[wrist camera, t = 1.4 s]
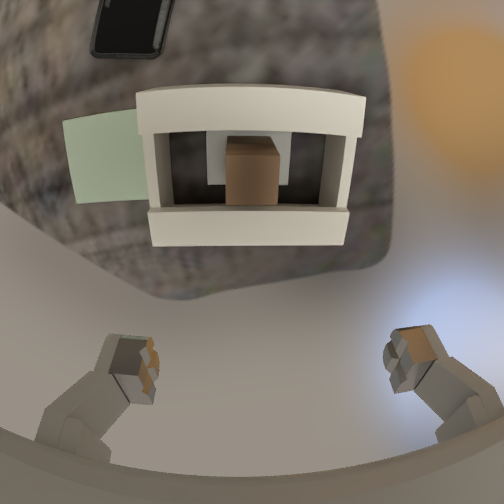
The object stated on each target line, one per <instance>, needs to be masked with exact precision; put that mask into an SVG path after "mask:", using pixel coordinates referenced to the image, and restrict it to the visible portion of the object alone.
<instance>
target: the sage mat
mask: <svg viewBox="0 0 504 504" xmlns="http://www.w3.org/2000/svg"><path fill="white" fill-rule="evenodd" d="M62 122H63V130H64V138H65V145H66V151H67V157H68V163H69V169H70V174H71V180H72V185H73V189H74V194H75V199H76V203H77V204H79V203H92V202H107V201H124V200H145V199H149V196H148V188H147V180H146V171H145V161H144V151H143V139H142V135H138V123H137V109H129V110H121V111H114V112H107V113H101V114H95V115H89V116H83V117H78V118H73V119H68V120H64V121H62Z"/></svg>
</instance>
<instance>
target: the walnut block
mask: <svg viewBox="0 0 504 504" xmlns="http://www.w3.org/2000/svg"><path fill="white" fill-rule="evenodd" d="M279 173H280V154H279V152H278V150H277V148H276V146H275V144H274V142H273V140H272V138H271V137H270V136H227V145H226V154H225V178H226V205H277V203H278V188H279Z"/></svg>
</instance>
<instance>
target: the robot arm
mask: <svg viewBox="0 0 504 504" xmlns="http://www.w3.org/2000/svg"><path fill="white" fill-rule="evenodd" d="M390 338H391V341H390V342H389V343H387V344H386V346H385V349H384V351H383V362H384V365H385V369H386V370H387V371H389V372H390V373H391V376H390V379H389V380H390V382H391V385H392V388H393V391H394V394H396V393H401V392H407V391H412V390H414V392H415V393H416V394H417V395H418V396H419V397H420V398H421V399H422V400H423V401H424V402H425V403H426V404H427V405H428V406H429V407H430V408H431V409H432V410H433V411H434V412H435V413H436V414H437V415H438V416H439V417H440V418H441V419H442V420H443V421H444V423H443V424H442V425H441V426H440V427H439V428H438V429H437V430H436V432H435V434H436V437H437V440H438V443H437V444H434V445H432V446H428V447H425V448H422V449H419V450H416V451H413V452H409V453H406V454H403V455H399V456H395V457H391V458H387V459H383V460H379V461H375V462H370V463H366V464H362V465H356V466H351V467H346V468H339V469H333V470H327V471H320V472H312V473H303V474H292V475H280V476H260V477H216V476H197V475H183V474H174V473H164V472H157V471H150V470H143V469H137V468H131V467H126V466H121V465H116V464H111V463H110V457H111V450H110V448H109V447H108V446H107V445H106V444H105V443H103V441H101V440H100V438H101V437H102V436H103V435H104V434H105V433H106V432H107V430H108V429H109V428H110V427H111V426H112V425H113V424H114V422H115V421H116V420H117V419H118V418H119V417H120V415H121V414H122V413H123V412H124V411H125V410H126V408H127V407H128V406H129V405H130V403H134V404H145V405H153V402H154V396H155V392H156V388H155V386H154V383H153V382H154V381H155V380H157V378H158V375H159V357H158V354H157V352H156V351H155V350H153V347H154V342H153V340H152V337H143V336H131V335H121V334H110V333H109V334H108V335H107V337H106V338H105V341H104V344H103V347H102V349H101V352H100V355H99V357H98V360H97V363H96V366H95V369H94V371H89V372H88V373H87V374H86V375H85V376H83V377H82V378H81V379H80V380H79V381H77V382H76V383H75V384H74V385H73V386H71V387H70V388H69V389H68V390H67V391H66V392H64V393H63V394H62V395H61V396H60V397H58V398H57V399H56V400H55V401H54V402H53V403H51V404H50V405H49V406H48V407H47V408H45V410H44V413H43V416H42V419H41V422H40V425H39V428H38V431H37V434H36V437H35V440H34V441H32V440H30V439H27V438H25V437H22V436H20V435H17V434H15V433H12V432H10V431H8V430H5V429H3V428H1V427H0V504H504V407H503V405H502V403H501V400H500V398H499V396H498V394H497V392H496V390H495V388H494V387H493V386H492V385H490V384H489V383H488V382H486V381H485V380H484V379H482V378H481V377H479V376H478V375H477V374H476V373H474V372H473V371H472V370H470V369H469V368H467V367H466V366H464V365H463V364H462V363H460V362H459V361H457V360H456V359H455V358H453V357H449V356H448V354H447V352H446V350H445V348H444V346H443V344H442V342H441V341H440V339H439V337H438V335H437V333H436V331H435V330H434V328H433V326H431V325H422V326H413V327H406V328H399V329H395V330H393V331H392V333H391V335H390Z"/></svg>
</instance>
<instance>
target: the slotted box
mask: <svg viewBox="0 0 504 504" xmlns="http://www.w3.org/2000/svg"><path fill="white" fill-rule="evenodd" d="M365 104H366V97H363V96H359V95H356V94H352V93H348V92H344V91H340V90H333V89H324V88H315V87H304V86H292V85H275V84H237V83H234V84H196V85H179V86H167V87H157V88H153V89H149V90H145V91H141V92H137V93H136V107H137V123H138V135H142V139H143V151H144V161H145V171H146V180H147V188H148V196H149V204H150V209H149V211H148V220H149V227H150V233H151V239H152V245H153V246H258V245H343V244H344V239H345V234H346V229H347V224H348V219H349V214H350V212H349V211H348V209H347V208H346V207H347V201H348V195H349V189H350V183H351V176H352V170H353V163H354V156H355V149H356V141H357V137H361V138H362V130H363V122H364V113H365ZM188 131H206V147H207V181H208V185H226V178H225V154H226V145H227V136H270V137H271V138H272V140H273V142H274V144H275V146H276V148H277V150H278V152H279V154H280V173H279V185H288V176H289V163H290V149H291V134H292V132H305V133H319V134H326V139H325V149H324V158H323V167H322V176H321V184H320V192H319V200H318V204H277V205H226V203H224V204H174V196H173V185H172V173H171V159H170V144H169V133H170V132H188Z"/></svg>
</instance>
